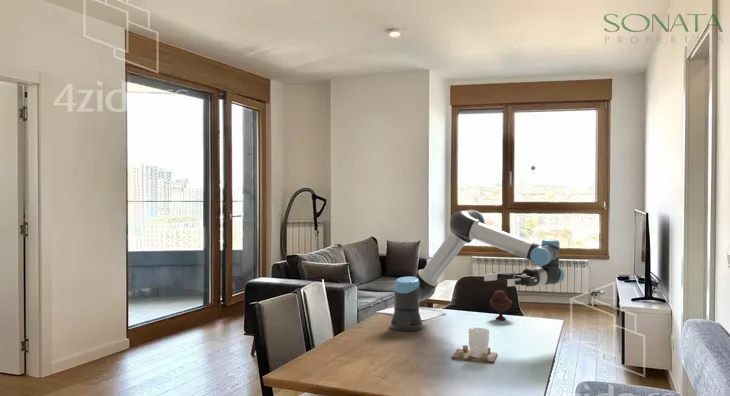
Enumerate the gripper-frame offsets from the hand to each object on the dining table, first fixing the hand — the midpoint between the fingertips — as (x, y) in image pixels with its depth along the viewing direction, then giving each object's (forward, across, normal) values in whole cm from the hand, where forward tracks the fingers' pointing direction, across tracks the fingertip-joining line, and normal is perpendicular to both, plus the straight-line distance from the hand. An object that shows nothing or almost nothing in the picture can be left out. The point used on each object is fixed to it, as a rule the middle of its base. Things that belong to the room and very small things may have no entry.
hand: (496, 280), depth 236 cm
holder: (+14, -4, -29) cm, 32 cm away
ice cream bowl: (-41, +40, -29) cm, 65 cm away
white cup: (+13, -6, -28) cm, 32 cm away
